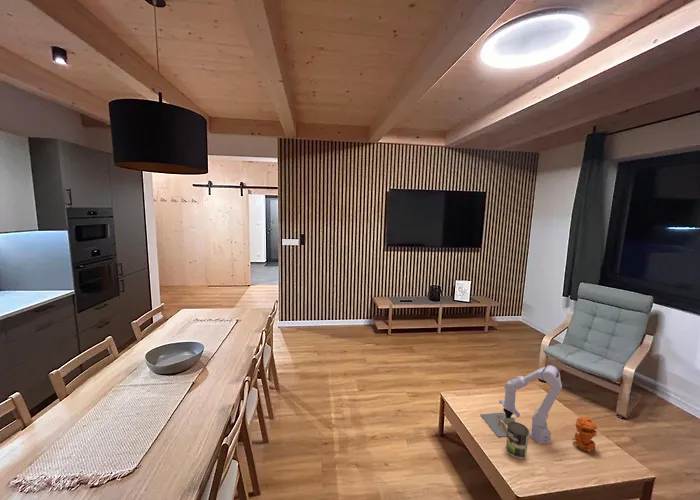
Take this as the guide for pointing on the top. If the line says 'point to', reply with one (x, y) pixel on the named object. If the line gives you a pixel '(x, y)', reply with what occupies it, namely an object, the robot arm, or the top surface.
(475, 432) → the top surface
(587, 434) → the toy dinosaur
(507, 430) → the fixed fence
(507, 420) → the fence gate
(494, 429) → the card
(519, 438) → the coffee can
